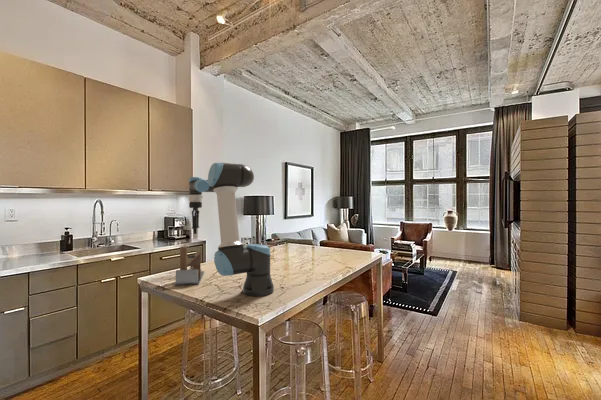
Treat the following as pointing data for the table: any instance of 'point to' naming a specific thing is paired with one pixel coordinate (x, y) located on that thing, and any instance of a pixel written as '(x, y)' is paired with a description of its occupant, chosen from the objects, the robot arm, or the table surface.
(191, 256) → the ram
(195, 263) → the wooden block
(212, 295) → the table surface
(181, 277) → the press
